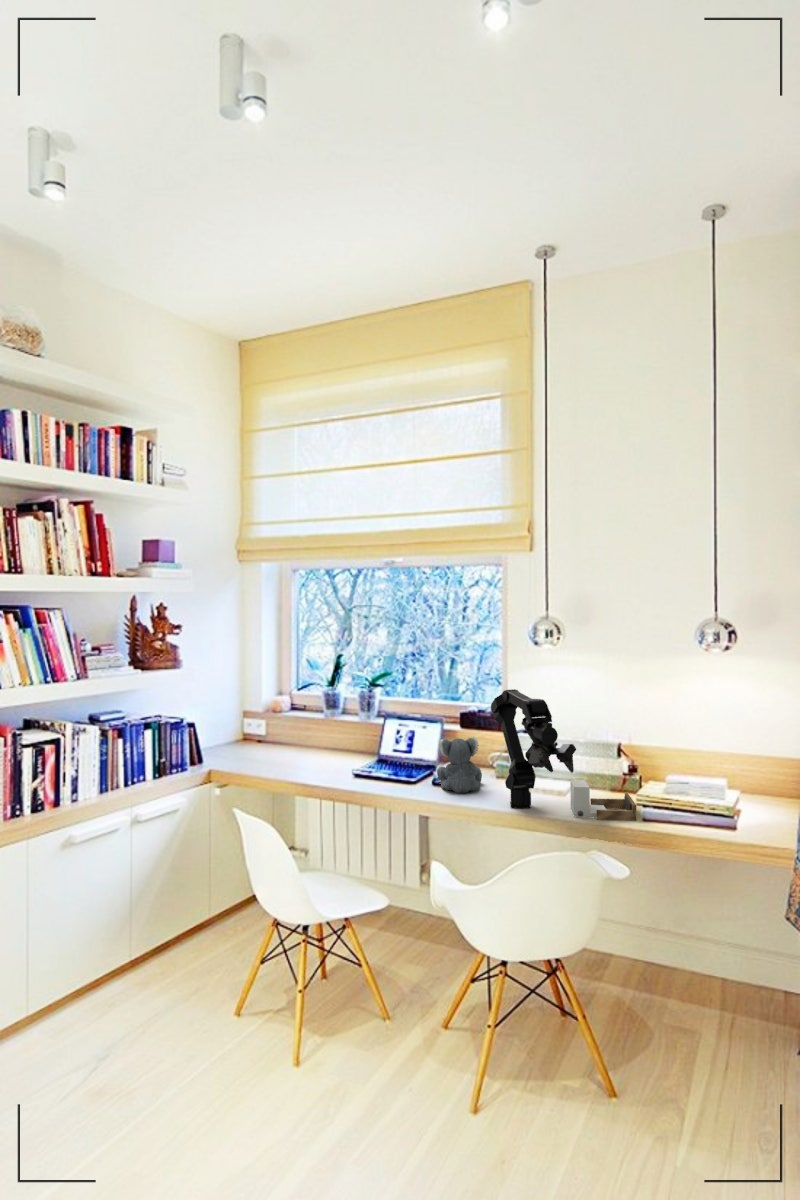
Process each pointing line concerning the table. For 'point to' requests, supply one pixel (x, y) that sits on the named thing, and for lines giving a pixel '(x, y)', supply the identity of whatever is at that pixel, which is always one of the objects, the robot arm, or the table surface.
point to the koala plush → (459, 765)
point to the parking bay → (616, 803)
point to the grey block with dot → (582, 800)
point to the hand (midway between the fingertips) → (562, 771)
